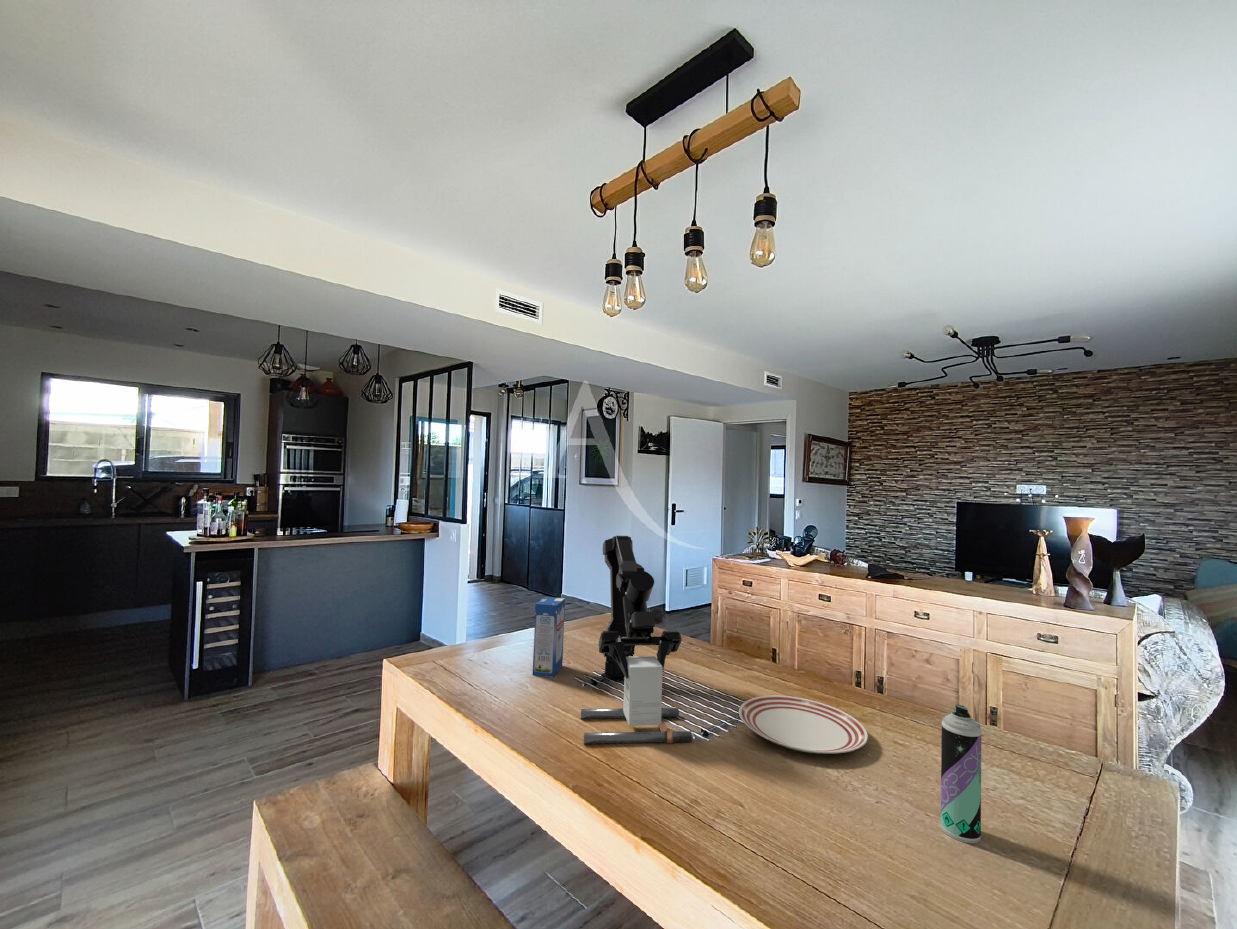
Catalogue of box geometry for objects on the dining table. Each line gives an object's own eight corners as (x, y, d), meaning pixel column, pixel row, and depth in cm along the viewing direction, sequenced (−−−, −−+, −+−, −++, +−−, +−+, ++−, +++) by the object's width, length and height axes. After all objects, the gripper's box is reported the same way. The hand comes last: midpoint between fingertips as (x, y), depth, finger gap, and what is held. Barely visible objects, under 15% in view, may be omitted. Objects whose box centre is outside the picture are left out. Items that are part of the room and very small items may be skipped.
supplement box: (653, 711, 122) (656, 655, 123) (661, 725, 115) (663, 666, 115) (622, 711, 121) (624, 655, 122) (627, 726, 114) (630, 666, 114)
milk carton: (542, 663, 159) (545, 596, 160) (562, 665, 158) (565, 598, 159) (532, 675, 149) (535, 603, 150) (553, 677, 148) (556, 605, 149)
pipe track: (583, 747, 110) (584, 734, 110) (580, 717, 124) (581, 705, 124) (692, 745, 112) (692, 732, 112) (676, 715, 127) (676, 704, 127)
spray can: (932, 821, 88) (934, 699, 89) (963, 821, 89) (964, 699, 90) (956, 843, 83) (957, 713, 84) (989, 843, 83) (990, 713, 84)
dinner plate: (884, 735, 120) (885, 720, 120) (839, 781, 100) (839, 763, 100) (772, 699, 139) (772, 686, 139) (715, 731, 119) (715, 716, 119)
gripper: (602, 595, 121) (607, 660, 110) (680, 596, 124) (693, 659, 113) (596, 621, 129) (600, 684, 118) (670, 621, 132) (681, 682, 121)
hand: (644, 677), depth 117 cm, fingers closed on supplement box, 7 cm apart
